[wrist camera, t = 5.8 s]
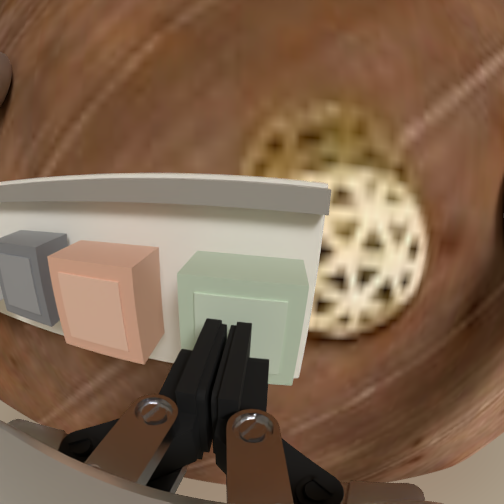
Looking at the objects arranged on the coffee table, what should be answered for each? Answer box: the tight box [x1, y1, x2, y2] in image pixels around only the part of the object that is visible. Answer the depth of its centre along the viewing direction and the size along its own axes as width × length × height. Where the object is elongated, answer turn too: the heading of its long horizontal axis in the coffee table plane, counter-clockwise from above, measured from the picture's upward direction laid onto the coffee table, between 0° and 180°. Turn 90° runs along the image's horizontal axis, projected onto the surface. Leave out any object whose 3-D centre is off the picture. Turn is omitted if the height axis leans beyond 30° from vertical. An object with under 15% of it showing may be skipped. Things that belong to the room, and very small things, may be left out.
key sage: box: [177, 251, 309, 385], centre depth 13 cm, size 5×5×3 cm
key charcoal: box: [0, 230, 68, 327], centre depth 15 cm, size 5×5×3 cm
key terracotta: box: [47, 240, 165, 364], centre depth 13 cm, size 5×5×3 cm
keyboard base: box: [0, 173, 331, 378], centre depth 17 cm, size 28×12×2 cm, turn 86°
